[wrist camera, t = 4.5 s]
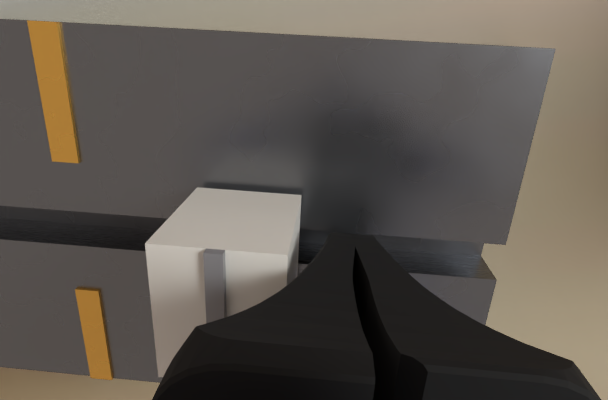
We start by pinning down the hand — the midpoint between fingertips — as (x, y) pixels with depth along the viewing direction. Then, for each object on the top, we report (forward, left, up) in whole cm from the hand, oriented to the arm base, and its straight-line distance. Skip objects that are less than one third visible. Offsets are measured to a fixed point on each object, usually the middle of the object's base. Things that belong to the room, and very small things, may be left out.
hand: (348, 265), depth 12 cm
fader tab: (0, +3, -2) cm, 4 cm away
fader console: (0, +5, -4) cm, 6 cm away
